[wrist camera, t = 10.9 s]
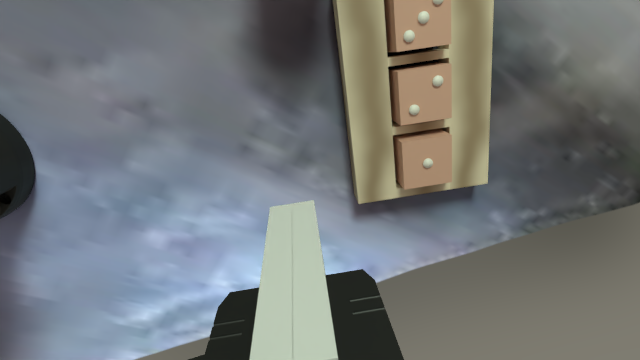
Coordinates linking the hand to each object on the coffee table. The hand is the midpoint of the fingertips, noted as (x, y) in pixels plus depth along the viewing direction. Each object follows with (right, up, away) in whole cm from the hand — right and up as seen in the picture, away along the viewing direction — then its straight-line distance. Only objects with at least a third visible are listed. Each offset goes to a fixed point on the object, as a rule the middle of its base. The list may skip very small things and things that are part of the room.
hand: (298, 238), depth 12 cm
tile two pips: (+12, +12, +29) cm, 33 cm away
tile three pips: (+10, +19, +26) cm, 34 cm away
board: (+11, +13, +29) cm, 33 cm away
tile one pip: (+13, +6, +31) cm, 34 cm away
